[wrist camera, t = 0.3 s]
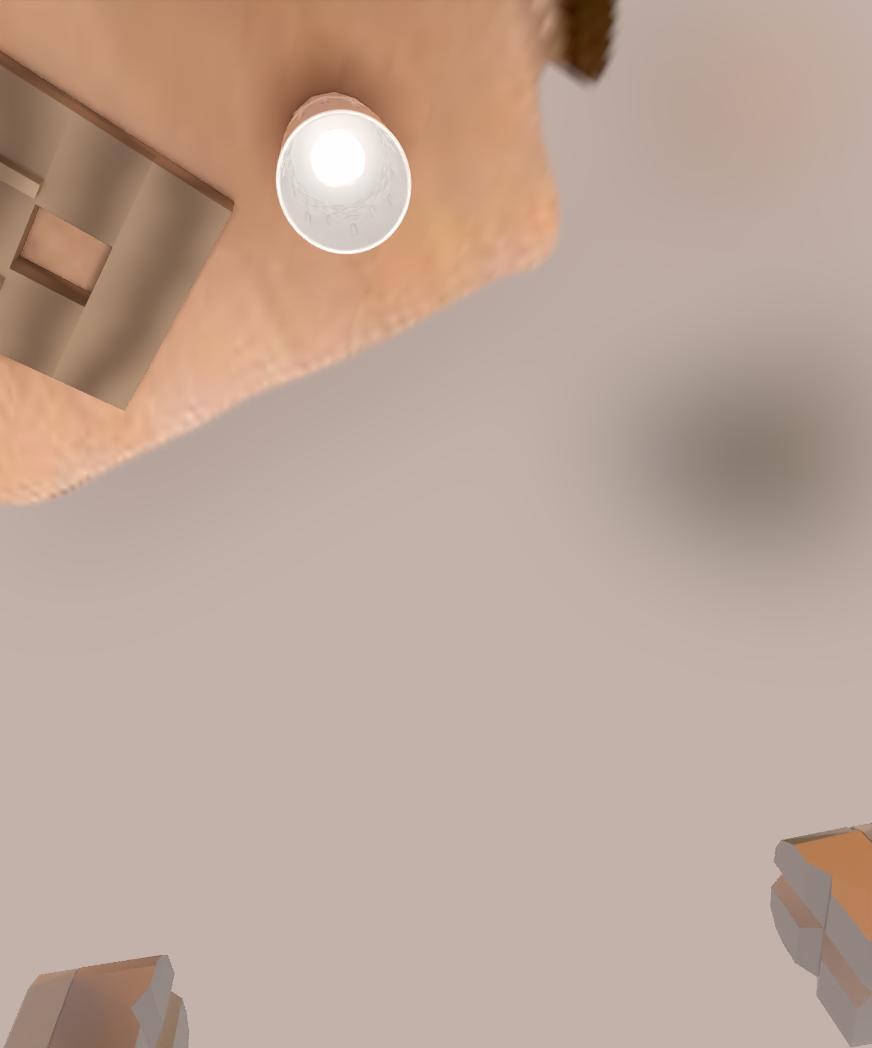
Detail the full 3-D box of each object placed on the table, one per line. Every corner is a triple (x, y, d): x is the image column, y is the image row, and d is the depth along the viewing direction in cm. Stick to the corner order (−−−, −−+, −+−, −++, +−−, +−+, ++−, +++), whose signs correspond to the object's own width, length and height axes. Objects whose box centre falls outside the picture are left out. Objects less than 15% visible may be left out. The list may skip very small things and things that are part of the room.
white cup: (362, 226, 53) (375, 275, 46) (259, 174, 50) (255, 217, 42) (411, 120, 49) (435, 154, 42) (304, 55, 46) (308, 80, 39)
